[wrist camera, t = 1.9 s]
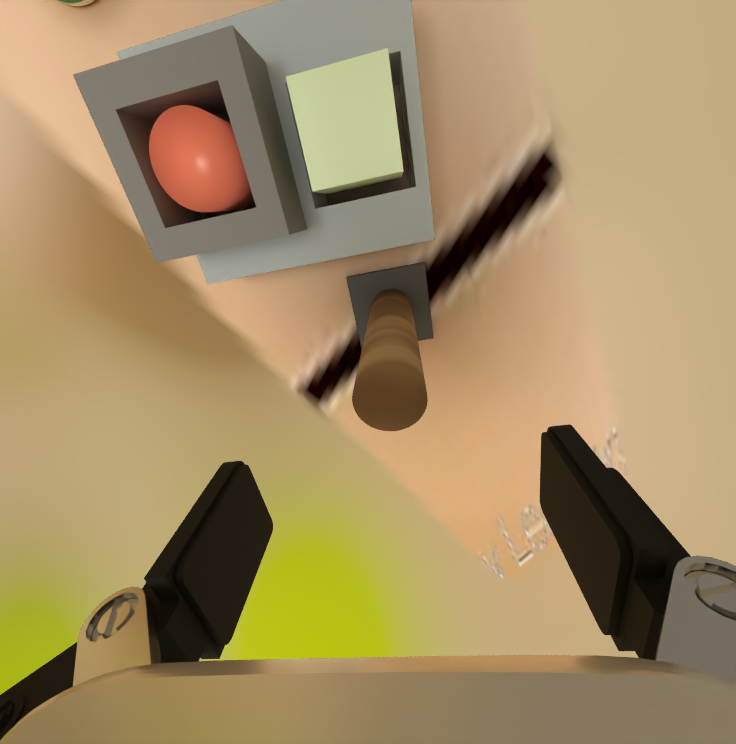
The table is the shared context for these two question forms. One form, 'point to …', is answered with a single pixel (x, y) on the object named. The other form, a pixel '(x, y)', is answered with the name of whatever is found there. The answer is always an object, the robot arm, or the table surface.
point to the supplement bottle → (76, 2)
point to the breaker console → (261, 134)
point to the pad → (399, 278)
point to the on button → (348, 123)
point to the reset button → (199, 161)
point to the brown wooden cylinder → (390, 366)
